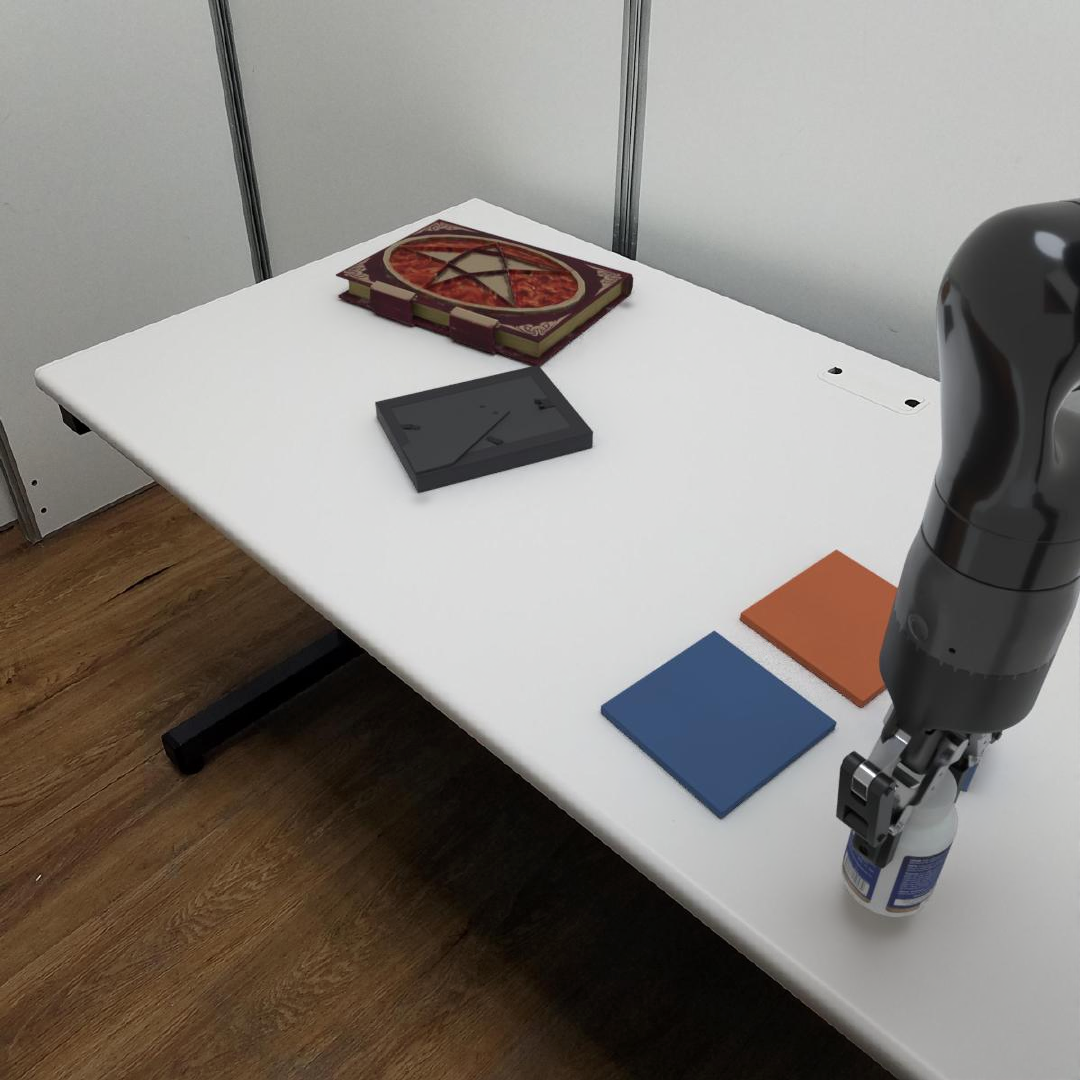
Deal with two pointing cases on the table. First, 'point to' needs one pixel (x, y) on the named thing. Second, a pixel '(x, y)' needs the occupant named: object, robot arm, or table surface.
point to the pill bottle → (907, 856)
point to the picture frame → (481, 427)
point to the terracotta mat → (830, 623)
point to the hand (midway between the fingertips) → (903, 825)
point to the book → (486, 290)
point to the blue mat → (718, 722)
